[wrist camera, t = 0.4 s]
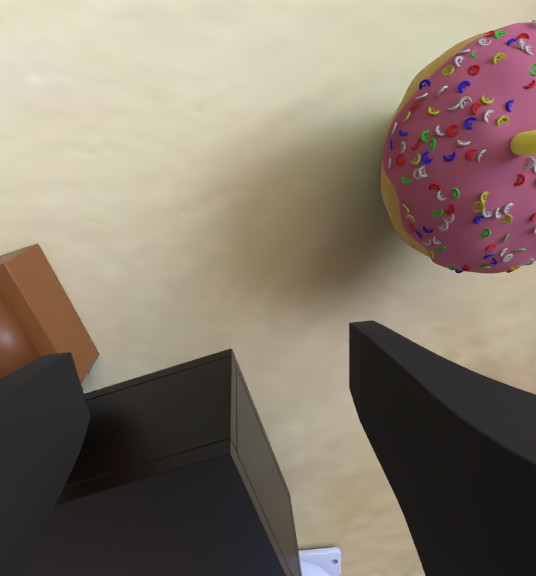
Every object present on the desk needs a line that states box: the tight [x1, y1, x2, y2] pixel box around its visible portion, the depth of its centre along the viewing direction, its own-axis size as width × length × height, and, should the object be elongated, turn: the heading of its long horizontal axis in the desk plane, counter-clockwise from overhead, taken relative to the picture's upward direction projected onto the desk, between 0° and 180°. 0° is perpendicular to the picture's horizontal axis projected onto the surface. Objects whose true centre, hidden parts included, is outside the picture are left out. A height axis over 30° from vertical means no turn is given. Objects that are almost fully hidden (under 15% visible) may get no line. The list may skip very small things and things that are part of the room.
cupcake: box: [381, 20, 536, 273], centre depth 13 cm, size 9×8×12 cm
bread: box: [0, 244, 99, 383], centre depth 18 cm, size 6×4×4 cm, turn 17°
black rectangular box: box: [24, 349, 302, 576], centre depth 21 cm, size 14×12×8 cm
